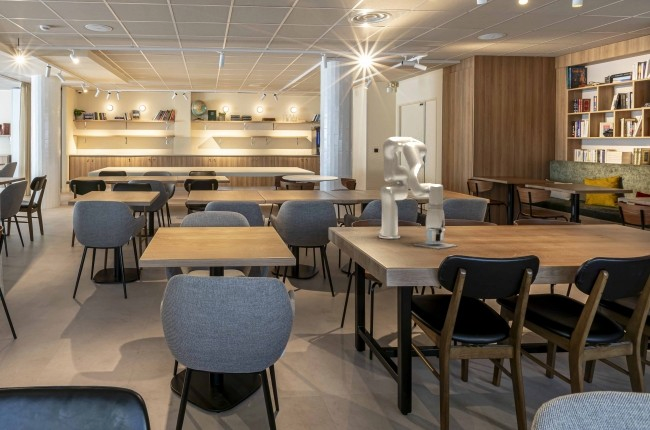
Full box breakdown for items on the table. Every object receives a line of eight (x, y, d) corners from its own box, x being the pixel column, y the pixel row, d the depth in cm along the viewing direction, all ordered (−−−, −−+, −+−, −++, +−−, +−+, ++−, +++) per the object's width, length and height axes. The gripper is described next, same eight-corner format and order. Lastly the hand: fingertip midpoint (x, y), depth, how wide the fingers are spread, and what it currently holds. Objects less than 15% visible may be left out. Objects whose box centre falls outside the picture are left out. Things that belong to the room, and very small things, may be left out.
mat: (412, 245, 347) (412, 244, 347) (432, 242, 357) (432, 241, 357) (438, 249, 333) (438, 248, 333) (457, 246, 343) (457, 245, 343)
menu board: (426, 242, 342) (426, 229, 341) (439, 240, 349) (439, 227, 348) (430, 243, 340) (430, 229, 339) (444, 241, 347) (444, 228, 346)
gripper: (419, 206, 346) (419, 239, 348) (443, 208, 334) (442, 243, 336) (429, 205, 351) (428, 238, 353) (452, 207, 338) (451, 241, 340)
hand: (435, 240), depth 344 cm, fingers closed on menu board, 3 cm apart
